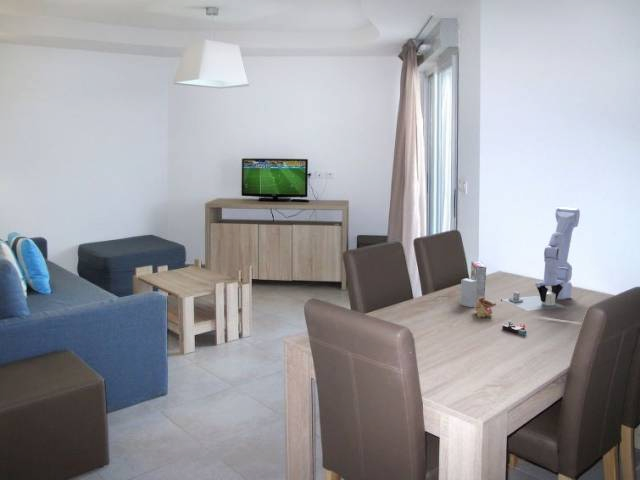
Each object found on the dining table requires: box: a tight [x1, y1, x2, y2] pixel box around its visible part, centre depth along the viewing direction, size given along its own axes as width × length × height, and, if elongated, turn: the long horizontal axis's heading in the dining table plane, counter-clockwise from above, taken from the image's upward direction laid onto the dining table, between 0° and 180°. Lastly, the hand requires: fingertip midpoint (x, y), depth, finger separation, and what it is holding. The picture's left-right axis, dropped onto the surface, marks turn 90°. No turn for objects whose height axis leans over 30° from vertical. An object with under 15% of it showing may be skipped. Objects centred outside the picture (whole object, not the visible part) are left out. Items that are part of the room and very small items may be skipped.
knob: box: [542, 291, 556, 306], centre depth 282 cm, size 6×6×5 cm
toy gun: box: [501, 319, 528, 337], centre depth 248 cm, size 10×12×5 cm
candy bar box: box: [470, 260, 487, 300], centre depth 295 cm, size 11×5×16 cm, turn 179°
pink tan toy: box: [473, 296, 497, 319], centre depth 267 cm, size 9×10×10 cm
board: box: [500, 295, 565, 312], centre depth 285 cm, size 21×19×1 cm
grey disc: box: [508, 291, 523, 303], centre depth 287 cm, size 6×6×4 cm
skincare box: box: [460, 278, 477, 308], centre depth 281 cm, size 6×4×12 cm
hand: (548, 300), depth 282 cm, fingers closed on knob, 6 cm apart
